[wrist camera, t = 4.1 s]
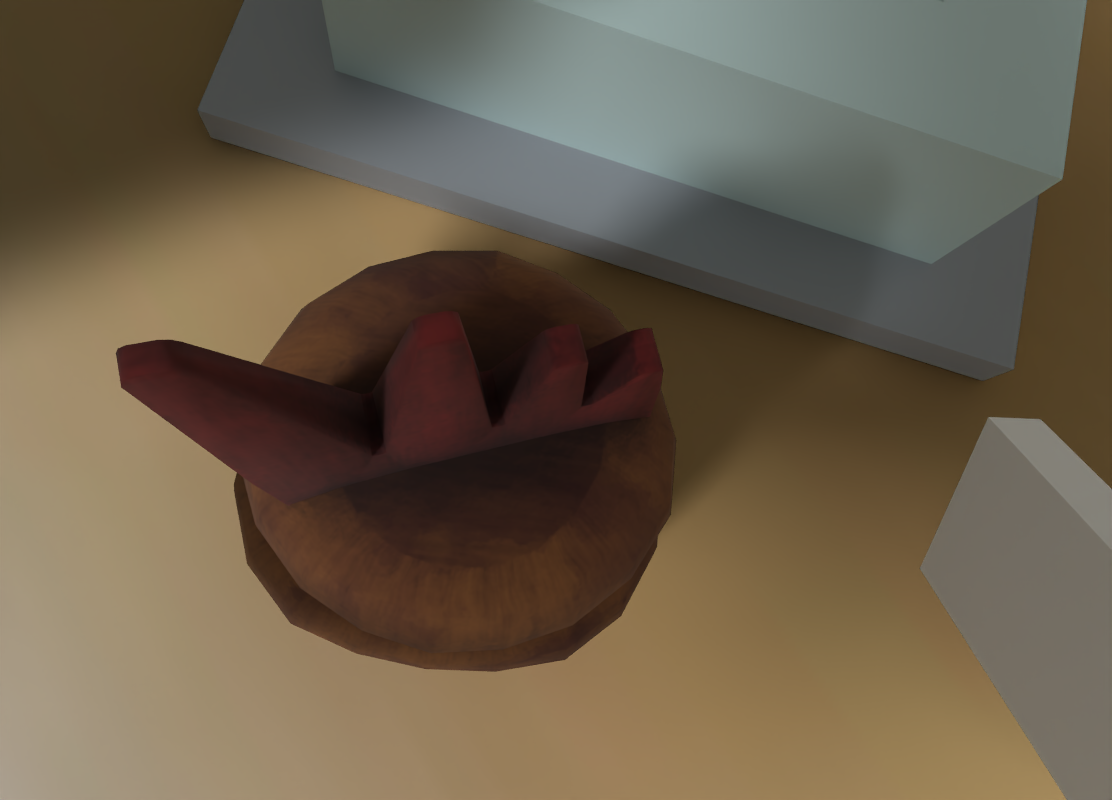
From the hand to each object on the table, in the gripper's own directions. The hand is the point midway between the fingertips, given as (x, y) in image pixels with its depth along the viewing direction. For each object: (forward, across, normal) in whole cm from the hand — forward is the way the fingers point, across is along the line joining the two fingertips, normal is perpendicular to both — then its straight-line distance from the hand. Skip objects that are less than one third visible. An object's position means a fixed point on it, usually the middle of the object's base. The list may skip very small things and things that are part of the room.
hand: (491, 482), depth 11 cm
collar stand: (+17, +6, +6) cm, 19 cm away
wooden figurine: (+6, 0, -6) cm, 9 cm away
